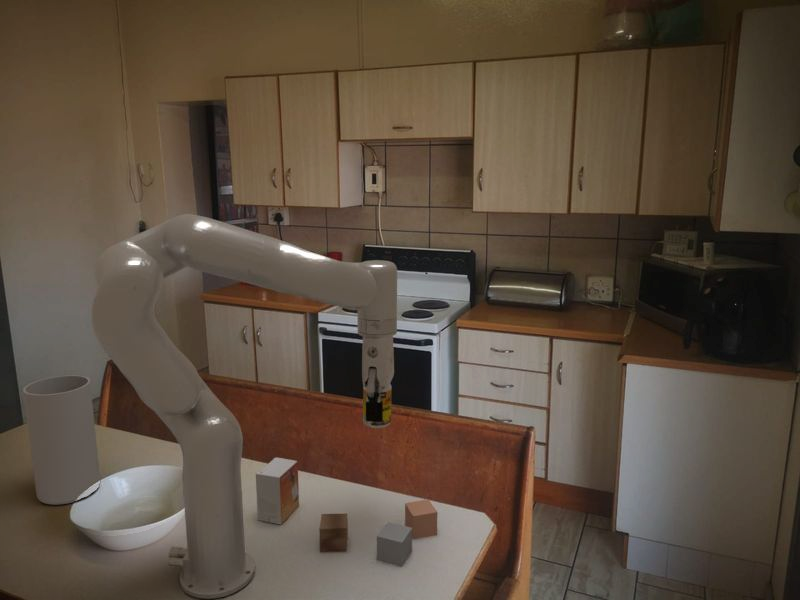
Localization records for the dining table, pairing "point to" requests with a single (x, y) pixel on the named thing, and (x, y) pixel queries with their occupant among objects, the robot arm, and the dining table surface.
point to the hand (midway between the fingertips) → (377, 413)
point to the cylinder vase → (62, 437)
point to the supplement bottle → (386, 407)
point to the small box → (277, 490)
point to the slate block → (394, 544)
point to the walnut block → (333, 533)
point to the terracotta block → (421, 518)
